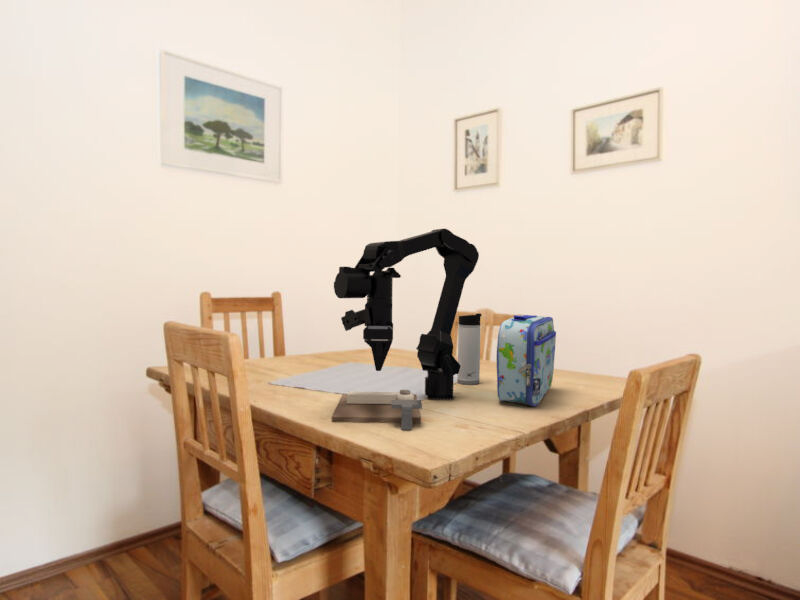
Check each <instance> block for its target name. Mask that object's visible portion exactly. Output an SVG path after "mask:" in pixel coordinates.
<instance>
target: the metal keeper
mask: <svg viewBox="0 0 800 600" xmlns="http://www.w3.org/2000/svg"><path fill="white" fill-rule="evenodd" d="M391 409H402V420H401V423H400V424H401V429H400V430H402V431H413V423H412V409H419V410H422V409H423V403H422V399H417V400H392V404H391Z"/></svg>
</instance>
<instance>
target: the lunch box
mask: <svg viewBox="0 0 800 600" xmlns="http://www.w3.org/2000/svg"><path fill="white" fill-rule="evenodd" d="M556 338H557V331H556V330H555V325H554V319H553V317H551V316H543V315H538V316H537V315H529V314H524V315H516V314H515V315H513V317H510V318H508V319H506V320H504V321H502V322H501V323H500V327H499V330H498V334H497V343H496V344H497V345H496V382H497V384H496V385H497V387H496V388H497V390H496V393H497V397H498V400H499V401H501V402H506V401H507V402H509V403H516V404H517V403H518V404H524V405H528V406H530V407H537V406H538V405H539V404H540V402H541V400H543V398H544V396H545V395H546V393H547V392H548V391H549V390H550V389H551V387H552V383H553V379H554V377H553V376H554V369H555V368H554V366H555V353H556V340H557V339H556Z"/></svg>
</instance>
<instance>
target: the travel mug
mask: <svg viewBox="0 0 800 600" xmlns="http://www.w3.org/2000/svg"><path fill="white" fill-rule="evenodd" d="M481 317H482V313H480V312H479V313H475V314H469V315H468V314H467V315H459V316H458V327H457V331H458V332H457V336H458V337H457V362H458V363H459V364H460V370H459V373H458V374H457V380H456V381H457V383H458V384H460V385H466V386H475V385H478V384H480V374H481V371H480V370H481V366H480V365H481V327H482V326H481Z"/></svg>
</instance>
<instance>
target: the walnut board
mask: <svg viewBox="0 0 800 600" xmlns="http://www.w3.org/2000/svg"><path fill="white" fill-rule="evenodd" d="M399 392H400V394H403V395H408V394H410V392H411V389H400V390H399ZM414 400H418V396H417V394H414ZM420 410H421V409H412V424H414V423H415V424H416V423H417V424H421V422H422V415H421V411H420ZM401 420H402V409H391V404H351V403H347V393H342V395H341V396H340V399H339V401H338V403H337V404H336V407H335V409H334V412H333V413H332V415H331V423H388V424H389V423H392V424H393V423H394V424H396V423H400V424H401Z"/></svg>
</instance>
